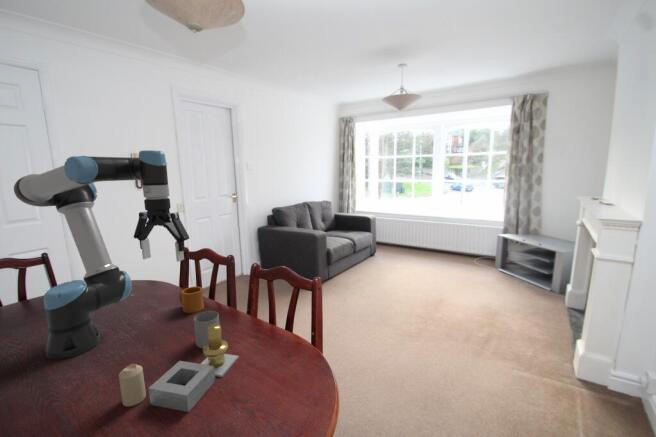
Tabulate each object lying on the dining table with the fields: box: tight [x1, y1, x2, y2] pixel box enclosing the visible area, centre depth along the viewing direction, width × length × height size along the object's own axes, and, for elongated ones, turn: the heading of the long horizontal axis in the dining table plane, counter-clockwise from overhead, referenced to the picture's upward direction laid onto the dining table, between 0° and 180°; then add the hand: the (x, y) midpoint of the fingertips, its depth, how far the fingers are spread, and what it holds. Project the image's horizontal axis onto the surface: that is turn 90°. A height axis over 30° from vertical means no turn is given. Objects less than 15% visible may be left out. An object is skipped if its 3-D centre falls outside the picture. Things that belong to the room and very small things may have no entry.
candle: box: [118, 362, 147, 408], centre depth 83 cm, size 6×6×10 cm
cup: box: [193, 310, 220, 349], centre depth 111 cm, size 8×8×10 cm
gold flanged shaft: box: [202, 323, 229, 368], centre depth 97 cm, size 8×8×13 cm
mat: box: [200, 353, 239, 378], centre depth 98 cm, size 10×10×1 cm
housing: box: [148, 360, 216, 413], centre depth 86 cm, size 12×12×5 cm
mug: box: [178, 286, 205, 314], centre depth 139 cm, size 9×12×9 cm
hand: (163, 259), depth 104 cm, fingers open, 13 cm apart
